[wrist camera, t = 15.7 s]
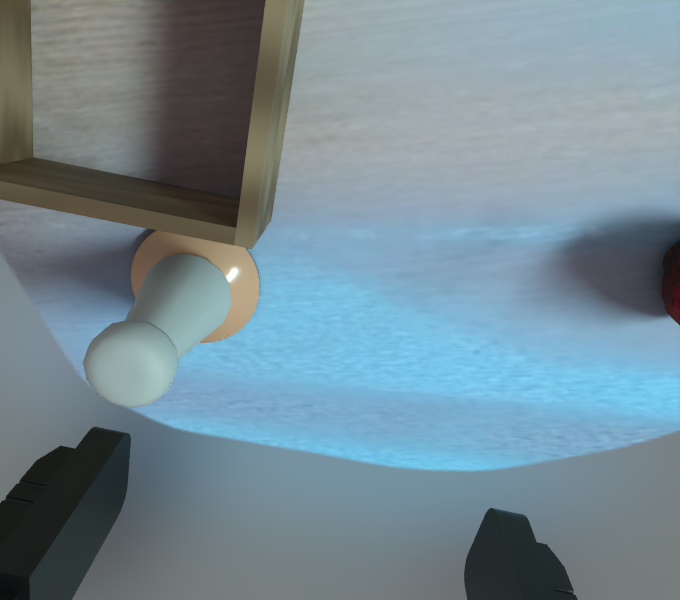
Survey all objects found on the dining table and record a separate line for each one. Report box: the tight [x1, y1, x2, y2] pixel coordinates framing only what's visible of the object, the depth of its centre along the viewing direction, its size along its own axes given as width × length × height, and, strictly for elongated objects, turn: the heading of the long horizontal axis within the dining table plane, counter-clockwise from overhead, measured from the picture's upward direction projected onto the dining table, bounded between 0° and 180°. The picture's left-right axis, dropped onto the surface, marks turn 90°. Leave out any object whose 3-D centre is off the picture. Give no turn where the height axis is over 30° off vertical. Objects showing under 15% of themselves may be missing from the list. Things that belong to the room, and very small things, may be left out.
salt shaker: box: [83, 253, 231, 408], centre depth 31 cm, size 6×6×13 cm
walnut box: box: [0, 0, 304, 249], centre depth 29 cm, size 17×17×7 cm
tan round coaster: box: [131, 230, 260, 343], centre depth 37 cm, size 9×9×1 cm
